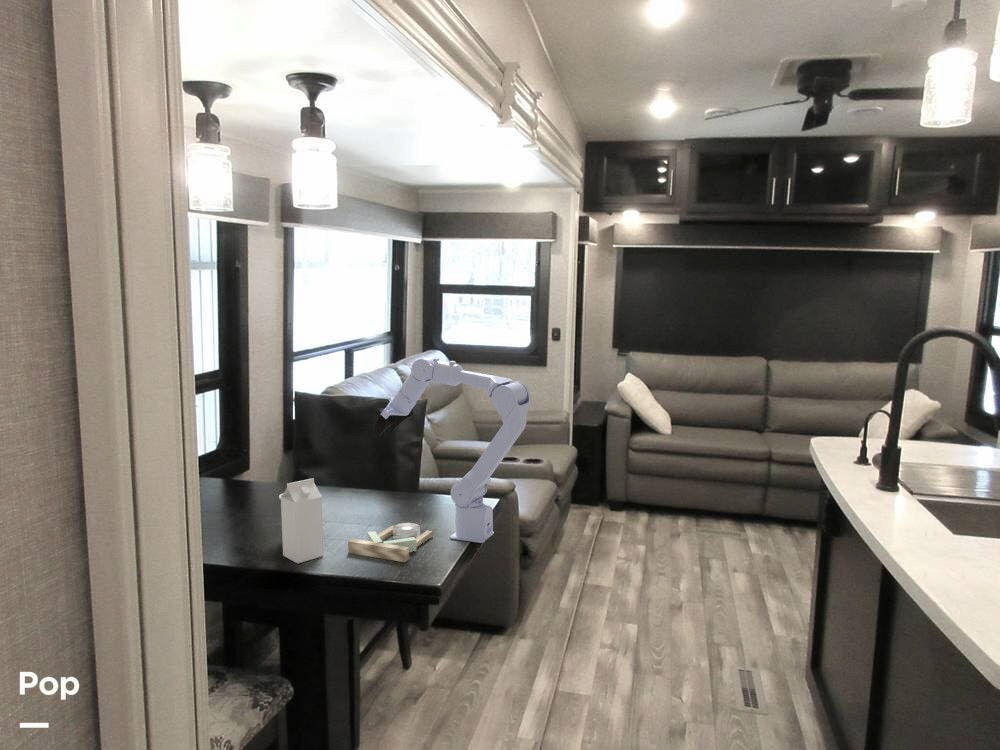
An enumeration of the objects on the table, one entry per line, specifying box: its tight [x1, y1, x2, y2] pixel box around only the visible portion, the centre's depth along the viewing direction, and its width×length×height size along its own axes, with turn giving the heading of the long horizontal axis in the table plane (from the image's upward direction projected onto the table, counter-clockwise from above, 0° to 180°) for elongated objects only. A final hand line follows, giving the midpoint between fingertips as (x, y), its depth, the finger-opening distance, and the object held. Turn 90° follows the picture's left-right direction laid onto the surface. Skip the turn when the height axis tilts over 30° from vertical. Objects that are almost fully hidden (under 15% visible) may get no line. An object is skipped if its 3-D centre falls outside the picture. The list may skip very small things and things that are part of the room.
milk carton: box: [280, 477, 324, 564], centre depth 172 cm, size 7×7×19 cm
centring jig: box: [347, 525, 433, 563], centre depth 181 cm, size 16×18×3 cm
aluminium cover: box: [392, 522, 421, 540], centre depth 186 cm, size 7×7×3 cm
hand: (383, 430), depth 196 cm, fingers open, 7 cm apart
